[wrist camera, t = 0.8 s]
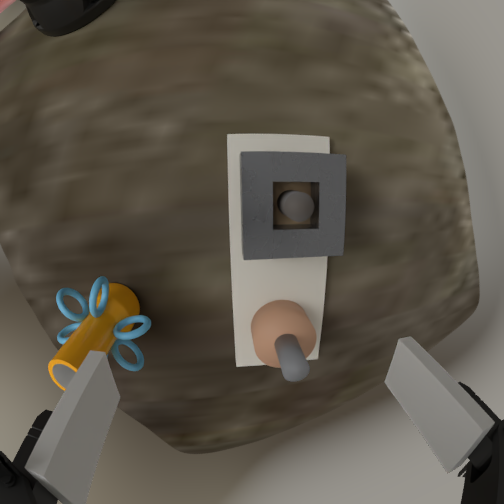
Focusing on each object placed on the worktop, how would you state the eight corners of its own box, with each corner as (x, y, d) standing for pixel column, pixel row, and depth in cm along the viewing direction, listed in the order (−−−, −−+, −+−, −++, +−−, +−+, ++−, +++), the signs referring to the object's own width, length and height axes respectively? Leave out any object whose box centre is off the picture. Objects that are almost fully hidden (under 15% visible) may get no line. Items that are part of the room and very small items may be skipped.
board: (227, 135, 28) (227, 134, 27) (325, 138, 29) (329, 137, 28) (235, 361, 35) (236, 366, 34) (315, 353, 36) (317, 358, 35)
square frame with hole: (239, 154, 24) (241, 151, 21) (335, 156, 24) (346, 154, 22) (241, 252, 26) (243, 260, 24) (333, 248, 27) (343, 255, 24)
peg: (250, 301, 32) (259, 345, 23) (308, 297, 32) (335, 337, 24) (251, 350, 34) (259, 400, 25) (305, 345, 34) (326, 391, 26)
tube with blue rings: (67, 295, 31) (4, 356, 16) (106, 241, 29) (33, 290, 15) (132, 355, 34) (100, 437, 19) (179, 311, 33) (156, 398, 18)
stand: (250, 169, 28) (259, 166, 21) (310, 169, 28) (337, 168, 21) (251, 230, 30) (260, 247, 22) (309, 228, 30) (335, 244, 23)
